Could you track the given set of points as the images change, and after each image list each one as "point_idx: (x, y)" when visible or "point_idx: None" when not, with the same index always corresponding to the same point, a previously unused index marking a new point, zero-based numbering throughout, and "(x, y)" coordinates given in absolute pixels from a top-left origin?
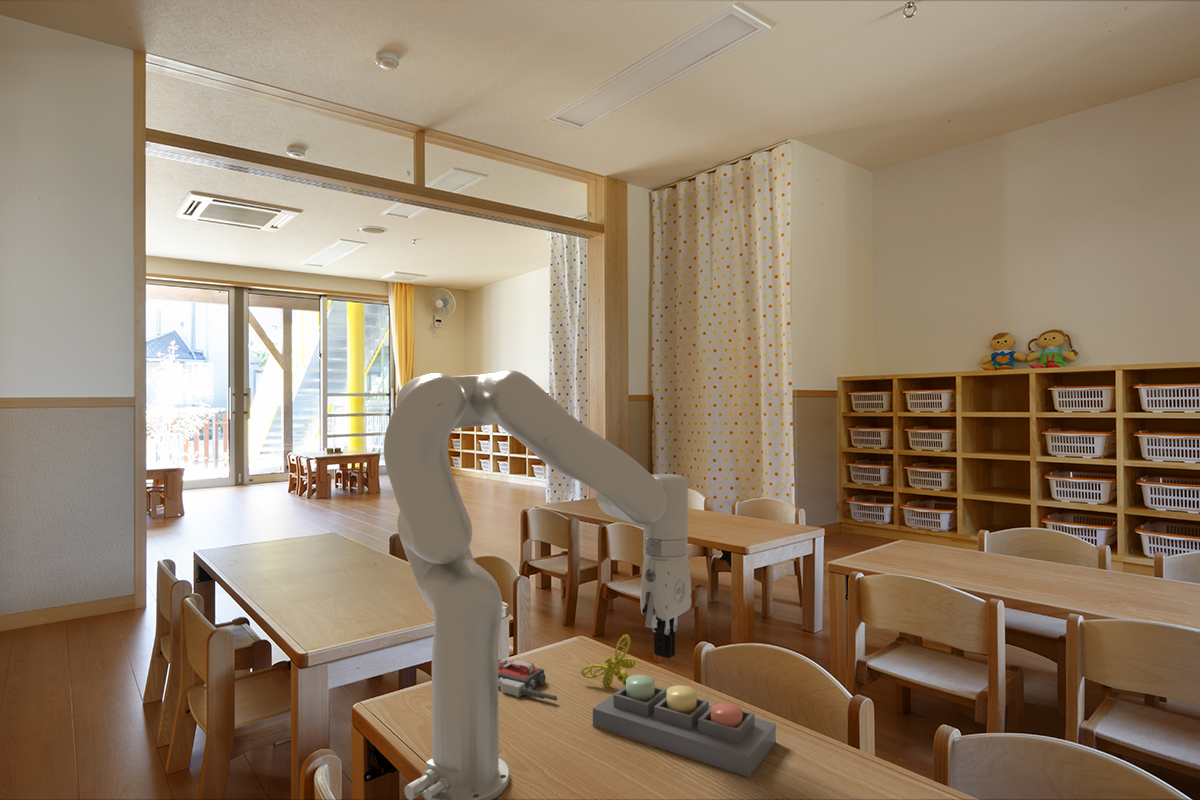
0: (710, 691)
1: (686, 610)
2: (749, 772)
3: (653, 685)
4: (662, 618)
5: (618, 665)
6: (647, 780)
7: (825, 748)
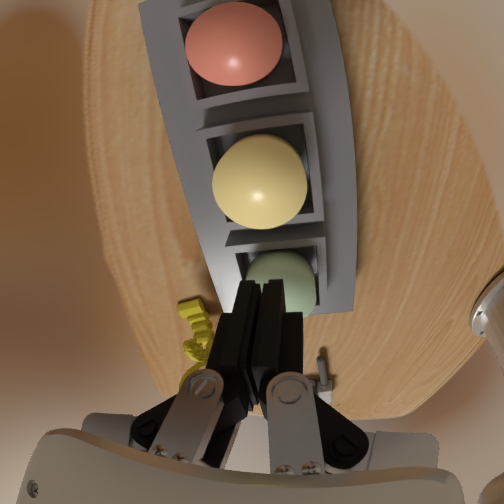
0: (99, 217)
1: (98, 447)
2: None
3: (270, 268)
4: (456, 480)
5: (207, 355)
6: (443, 125)
7: None
